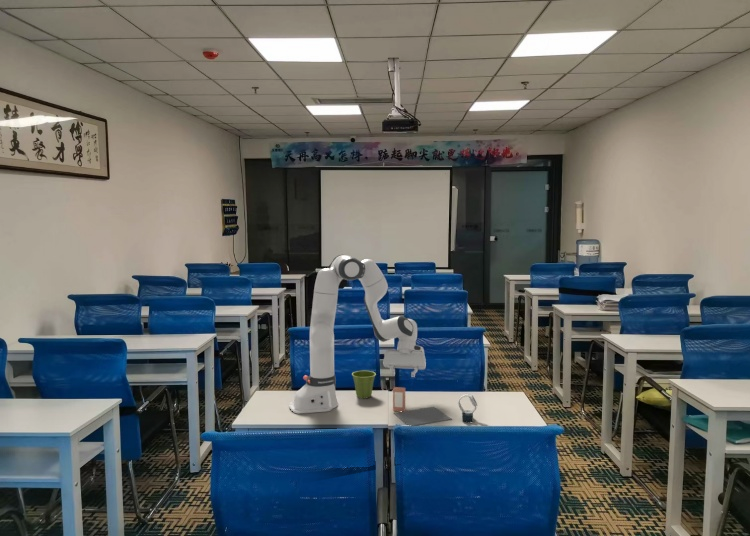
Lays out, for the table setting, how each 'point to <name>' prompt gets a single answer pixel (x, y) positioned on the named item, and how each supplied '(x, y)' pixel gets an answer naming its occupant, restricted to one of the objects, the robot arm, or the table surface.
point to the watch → (468, 415)
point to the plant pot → (363, 383)
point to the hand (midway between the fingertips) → (402, 375)
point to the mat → (422, 416)
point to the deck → (398, 399)
